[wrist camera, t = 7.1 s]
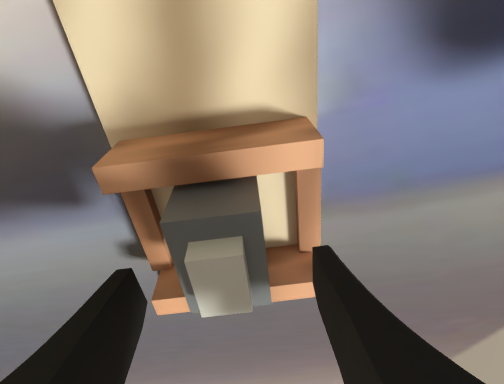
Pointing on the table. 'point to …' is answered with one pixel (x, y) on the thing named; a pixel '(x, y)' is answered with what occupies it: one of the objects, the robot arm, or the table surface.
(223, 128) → the wooden board with blocks
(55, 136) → the table surface
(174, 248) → the plug
